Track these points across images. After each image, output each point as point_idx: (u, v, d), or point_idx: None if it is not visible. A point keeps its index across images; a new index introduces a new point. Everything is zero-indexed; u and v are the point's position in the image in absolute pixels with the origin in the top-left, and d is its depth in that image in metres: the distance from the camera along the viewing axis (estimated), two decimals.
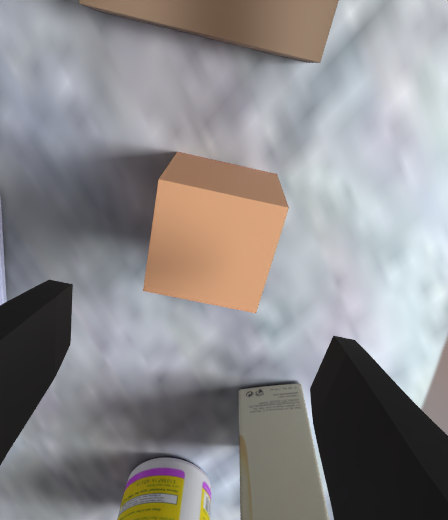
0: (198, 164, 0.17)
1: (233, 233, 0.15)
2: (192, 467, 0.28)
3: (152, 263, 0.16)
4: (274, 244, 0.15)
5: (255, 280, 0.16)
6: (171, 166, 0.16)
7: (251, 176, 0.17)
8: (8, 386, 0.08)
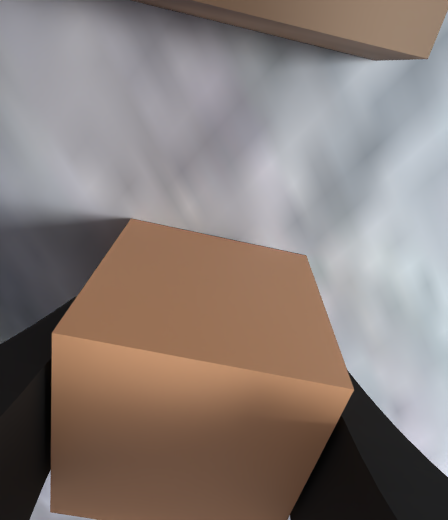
0: (163, 252, 0.09)
1: (229, 430, 0.07)
2: None
3: (61, 473, 0.08)
4: (316, 450, 0.07)
5: (273, 501, 0.08)
6: (103, 270, 0.08)
7: (263, 274, 0.09)
8: None
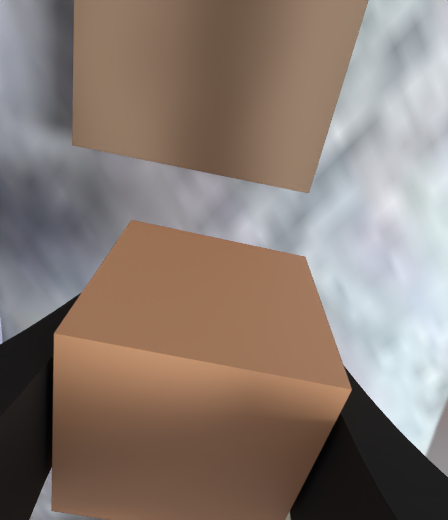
0: (164, 254, 0.09)
1: (228, 430, 0.07)
2: None
3: (62, 472, 0.08)
4: (315, 449, 0.07)
5: (272, 501, 0.08)
6: (104, 271, 0.08)
7: (262, 275, 0.09)
8: None
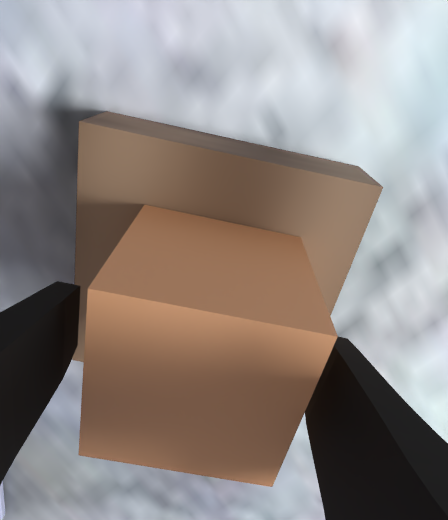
0: (174, 232, 0.10)
1: (233, 375, 0.08)
2: None
3: (90, 417, 0.09)
4: (307, 392, 0.08)
5: (271, 442, 0.09)
6: (124, 244, 0.09)
7: (262, 250, 0.11)
8: (18, 388, 0.08)
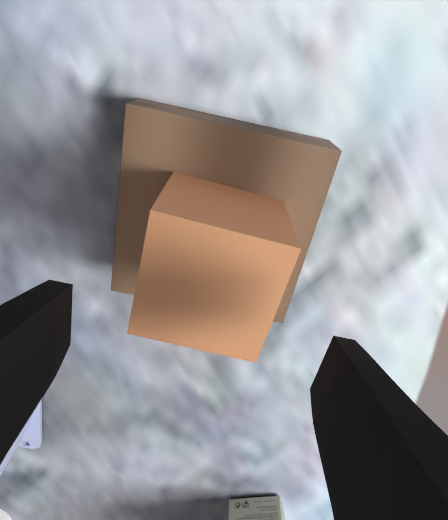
0: (197, 189, 0.15)
1: (235, 274, 0.13)
2: None
3: (139, 303, 0.14)
4: (282, 288, 0.13)
5: (257, 326, 0.14)
6: (166, 191, 0.14)
7: (256, 205, 0.15)
8: (8, 386, 0.08)
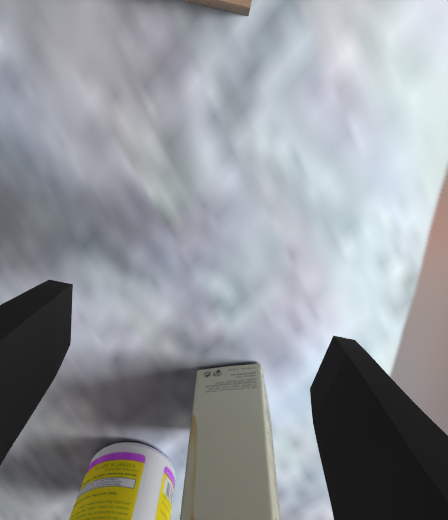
0: None
1: None
2: (154, 452, 0.28)
3: None
4: None
5: None
6: None
7: None
8: (8, 386, 0.08)
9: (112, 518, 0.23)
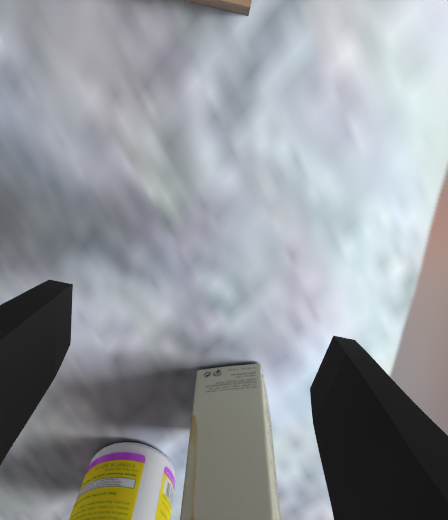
0: None
1: None
2: (154, 452, 0.28)
3: None
4: None
5: None
6: None
7: None
8: (8, 386, 0.08)
9: (112, 518, 0.23)
